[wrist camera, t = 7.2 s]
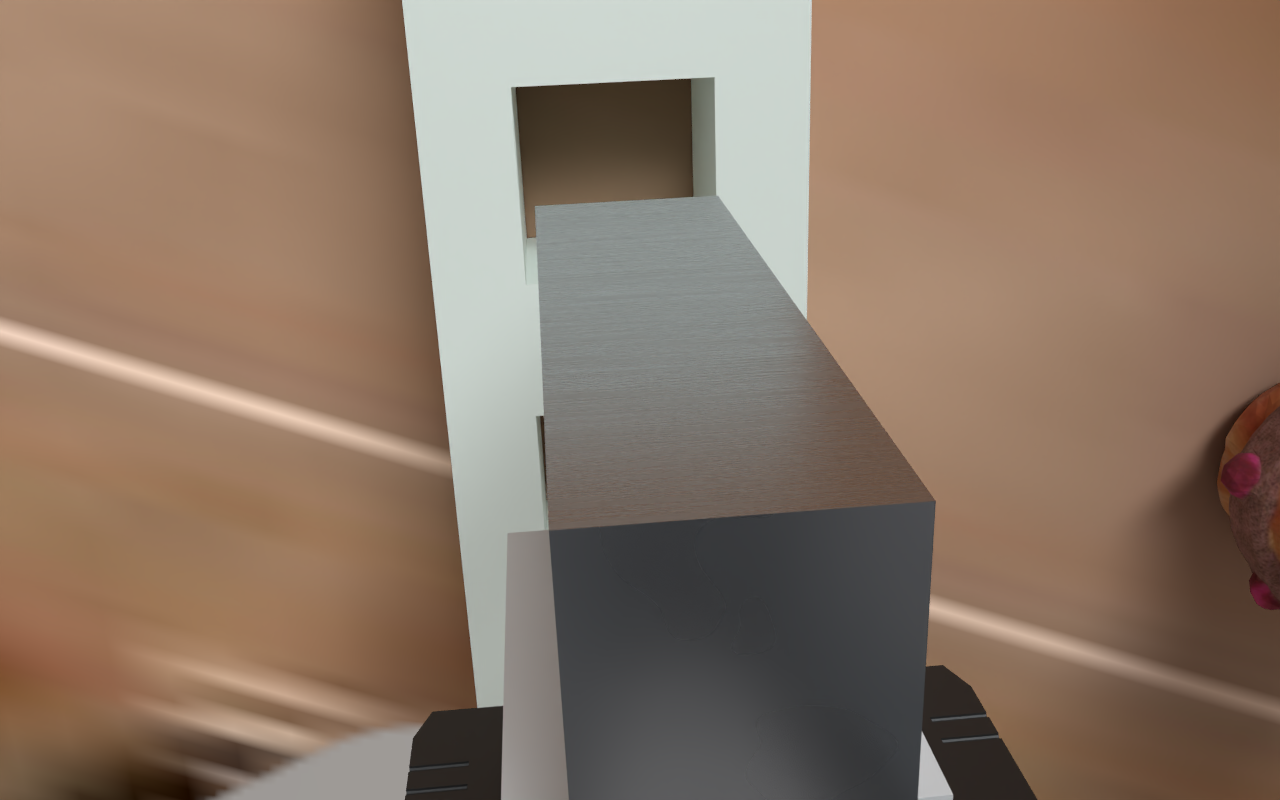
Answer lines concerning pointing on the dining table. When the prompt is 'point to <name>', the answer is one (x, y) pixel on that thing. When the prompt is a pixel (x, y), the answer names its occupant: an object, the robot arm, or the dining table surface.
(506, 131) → the pale board with holes
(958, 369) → the dining table surface
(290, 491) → the dining table surface
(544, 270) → the grey block
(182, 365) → the dining table surface
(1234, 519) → the mug
